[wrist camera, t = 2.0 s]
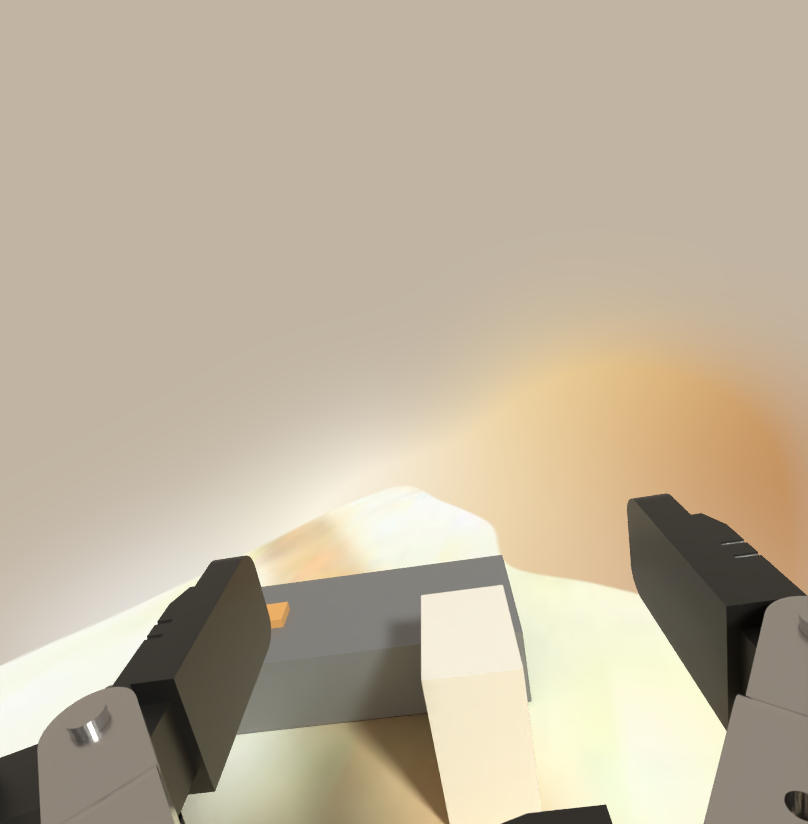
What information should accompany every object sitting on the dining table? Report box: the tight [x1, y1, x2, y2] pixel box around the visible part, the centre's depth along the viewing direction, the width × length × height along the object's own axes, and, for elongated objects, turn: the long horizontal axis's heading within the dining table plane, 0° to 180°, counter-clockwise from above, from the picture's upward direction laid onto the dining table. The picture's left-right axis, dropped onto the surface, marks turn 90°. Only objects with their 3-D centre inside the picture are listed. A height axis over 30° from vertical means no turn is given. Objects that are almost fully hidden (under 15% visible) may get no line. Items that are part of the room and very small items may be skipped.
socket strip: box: [105, 555, 531, 734], centre depth 36 cm, size 29×8×6 cm, turn 88°
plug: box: [421, 585, 542, 824], centre depth 29 cm, size 4×9×9 cm, turn 178°
